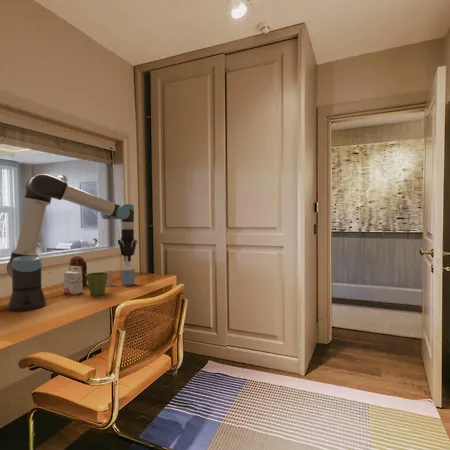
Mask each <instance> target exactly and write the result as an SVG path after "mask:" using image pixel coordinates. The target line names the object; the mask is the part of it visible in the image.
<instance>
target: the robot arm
mask: <svg viewBox="0 0 450 450" xmlns="http://www.w3.org/2000/svg"><path fill="white" fill-rule="evenodd" d="M52 199H55V200H58V201H61V200H64V201H68V202H70V203H73V204H75V205H78V206H80V207H84V208H86V209H89V210H93V211H95V212H98V213H100V216H101V218H102V219H103V220H120V222H121V223H120V225H121V226H120V229H121V230H120V231H121V233H120V234H121V237H120V239H118V240H117V242H118V245H119V250H120V254H121V256H123V258H124V260H123V261H124V264H125V265H124V266H125V268H130V267H131V261H132V256H134V255H135V250H136V248H137V247H136V246H137V243H138V240H137V239H135V236H134V235H135V229H134V227H135V206H134V204H132V203H122V204H121V205H120V204H117V203H115V202H112V201H109V200H107V199H104V198H102V197H100V196H97V195H95V194H91V193H90V192H87V191H84V190H82V189H80V188H76V187H74V186H72V185H69V183H68V182H67V181H65V180H62V179H59V178H57V177H55V176H53V175H50V174H47V173H40V174H36V175H35V176H33V177H31V178H29V179H28V180H27V182H26V184H25V195H24V200H25V201H26V206H25V211H24V215H23V219H22V224H21V227H20V232H19V236H18V240H17V244H16V248H15V249H13V250H12V251H11V255H10V257H9V261H8V262H7V264H6V272H7V274H8V276H9V277H10V278H11V284H12V285H11V287H12V290H11V291H12V292H11V294H10V295H11V296H10V298H9V301H8V304H7V310H8V311H11V312H25V311H31V310H36V309H39V308H43V307H45V306H46V305H47V300H46V298H45V295H44V292H43V288H42V263H43V262H42V259H41V258H40V257H39V254H38V252H37V248H38V244H39V240H40V239H39V238H40V235H41V231H42V225H43V222H44V218H45V212H46V208H47V206H50V204H51V201H52Z"/></svg>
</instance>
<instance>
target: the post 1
mask: <svg viewBox="0 0 450 450" xmlns="http://www.w3.org/2000/svg"><path fill="white" fill-rule="evenodd" d="M105 272H107V273H109V274H108V275H107V279H106V286H105V287H113V286H115V285H117V283H113V270H105Z"/></svg>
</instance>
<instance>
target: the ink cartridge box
mask: <svg viewBox="0 0 450 450" xmlns="http://www.w3.org/2000/svg"><path fill="white" fill-rule="evenodd" d="M69 267H70V271H69V270H68V271H65V272H63V292H64V294H69V295H78V294H81V293H83V286H82V267H81V266H70V265H69ZM74 268H78V269H74Z"/></svg>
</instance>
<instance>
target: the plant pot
mask: <svg viewBox="0 0 450 450" xmlns="http://www.w3.org/2000/svg"><path fill="white" fill-rule="evenodd" d="M108 274H109V273H107V272H104V271H103V272H99V271H97V272H90V273H89V272H88V273H87V274H86V275H85V276H86V277H87V285H88V289H89V294H90V295H91V296H92V297H93V296H95V297H96V296H99V295H100V296H102V295H104V294H105V293H106V287H107V286H106V279H107V275H108Z"/></svg>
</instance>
